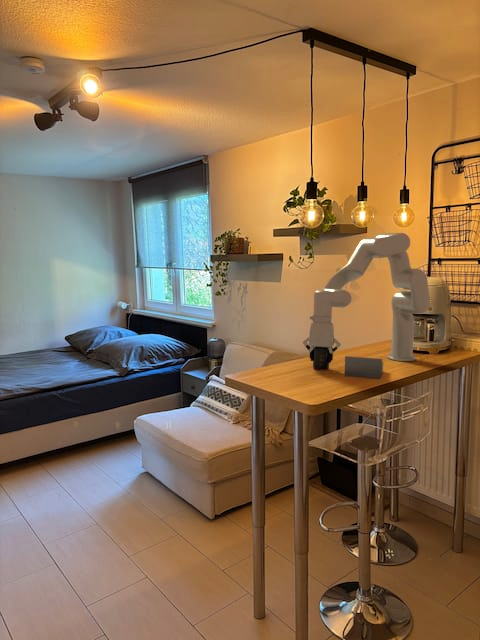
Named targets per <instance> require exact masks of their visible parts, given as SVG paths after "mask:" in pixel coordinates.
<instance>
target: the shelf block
mask: <svg viewBox="0 0 480 640" xmlns="http://www.w3.org/2000/svg"><path fill="white" fill-rule="evenodd" d="M383 372H384V361H383V359H382V358H375V357H364V356H363V357H362V356H348V355H345V357H344V377H349V378H358V379H359V378H361V379H368V380H369V379H371V380H382V377H383Z"/></svg>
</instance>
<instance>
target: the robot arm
mask: <svg viewBox="0 0 480 640" xmlns="http://www.w3.org/2000/svg"><path fill="white" fill-rule="evenodd" d="M410 246H411V239H410V237H409V235H408V234H407V233H404V232H392V233H391V232H387V233H380V234H378V235H376V236H375V237H367V238H363V239H362V240H361V241H359V243H358V244H357V246H356V247H355V249H354V251H353V253H352V254H351V256H350V257H349V259H348V261H347V263H346V264H345V265H344V266H343V267H341V268H340V269H339V270H338V271H337V272H336V273H334V275H332V276H331V277H330V279H329V280H328V281H327V283H326V284H325V286H324V287H323V289H318V290H315V291H314V294H313V314H312V316H309V321H310V320H311V321H312V322H311V323H310V325H309V337H307V338H306V339H305V340H303V341H302V344H303V346H304V347H305V348H306V349H307V351H308V352H309V359H310V362H313V349H314V347H326V348H328V349H329V364H331V362H333V359H334V352H335V351H337V350H338V349H339V348H340V347H341V346H342V344H341V342H339V341H338V339H336V338H335V329H334V327H335V326H334V323H333V322H332V317H333V313H332V312H333V308H340V309H341V308H343V309H344V308H346V307H348V306H350V304H351V302H352V298H353V297H352V295H351V293H350V292H349V291H347V290H345V289H342V288H344V286H345V285H347V284H349V283H351V282H353V281H355V280H357V279H359V278H362V277H363V276H364V275H365V273H366V271H367V269H368V268H369V266H370V264H371V262H372V261H373V259H382V258H383V259H384V258H387V259H388V262H389V269H390V275H391V282H392V285H393V287H394V288H395V289H400V291H397V292H395V293H394V294H393V295H392V298H391V308H392V309H391V310H392V327H391V328H392V331H391V332H392V333H391V348H390V353H389V354H387V357H386V358H387V359H389V360H392V361H396V362H397V361H398V362H413V361H416V359H417V357H416V356H415V355H414V353H413V351H414V340H415V339H414V338H415V337H414V336H415V318H414V315H413V314H416V315H422V314H425V313H427V311H428V310H429V308H430V306H431V305H430V304H431V303H430V300H431V299H430V298H431V297H430V289H429V281H428V277H427V275H426V273H425V271H424V270H422V269H421V268H420V269H419V268H412V267H411V263H410V258H409V254H408V252H407V251H408V250H409V248H410ZM334 345H335V346H334ZM333 346H334V347H333Z"/></svg>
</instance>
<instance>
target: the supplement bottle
mask: <svg viewBox="0 0 480 640" xmlns="http://www.w3.org/2000/svg"><path fill="white" fill-rule="evenodd" d="M329 353H330V351H329V349H328V348H326V347H314V349H313V361H312V368H313V369H314V370H317V371H327V370H329V369H330V363H329Z"/></svg>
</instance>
